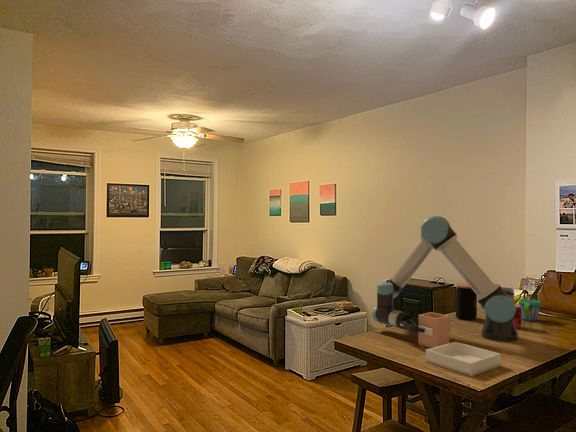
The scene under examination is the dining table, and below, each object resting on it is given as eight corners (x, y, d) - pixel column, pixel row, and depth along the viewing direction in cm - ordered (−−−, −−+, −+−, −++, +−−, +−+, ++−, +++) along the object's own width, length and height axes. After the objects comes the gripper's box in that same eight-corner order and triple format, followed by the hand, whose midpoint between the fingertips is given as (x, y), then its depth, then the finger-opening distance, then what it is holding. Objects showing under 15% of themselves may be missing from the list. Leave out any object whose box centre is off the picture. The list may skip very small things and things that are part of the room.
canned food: (500, 325, 227) (500, 303, 227) (515, 324, 227) (515, 303, 227) (508, 328, 219) (509, 306, 219) (524, 328, 220) (524, 306, 220)
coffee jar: (478, 321, 235) (478, 287, 234) (457, 320, 237) (457, 286, 237) (474, 316, 245) (474, 283, 245) (454, 315, 247) (454, 283, 247)
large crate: (455, 352, 181) (455, 341, 181) (500, 365, 166) (500, 353, 166) (425, 361, 170) (425, 349, 170) (470, 376, 155) (470, 363, 155)
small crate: (431, 341, 197) (431, 312, 197) (449, 346, 190) (449, 316, 190) (418, 345, 192) (418, 314, 192) (436, 350, 185) (436, 318, 184)
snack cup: (523, 315, 247) (524, 297, 247) (545, 319, 240) (545, 300, 240) (513, 320, 236) (513, 301, 236) (535, 324, 229) (535, 304, 229)
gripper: (417, 324, 212) (458, 334, 195) (382, 332, 199) (423, 343, 181) (417, 308, 212) (458, 317, 195) (382, 315, 198) (423, 325, 181)
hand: (441, 330), depth 188 cm, fingers open, 12 cm apart
